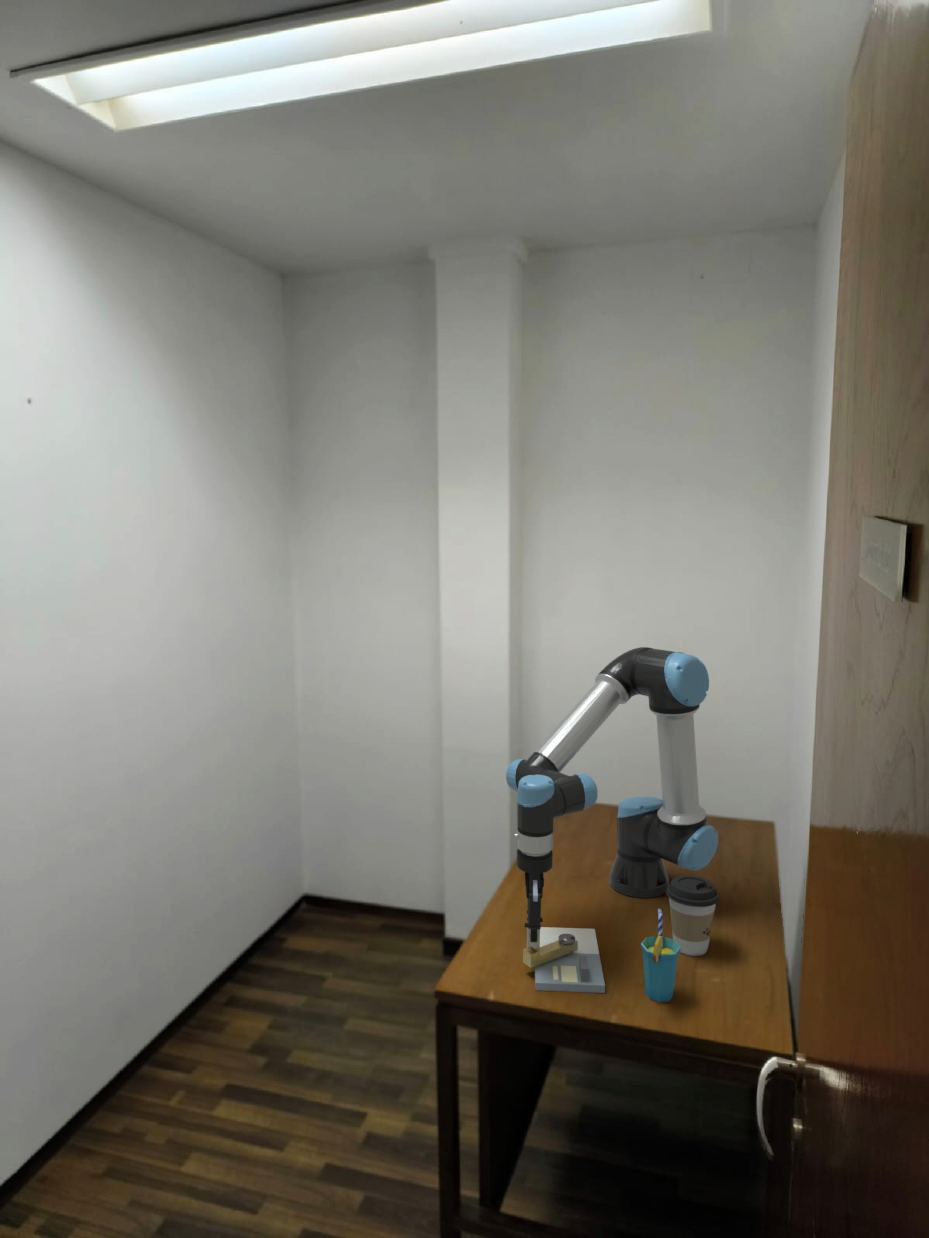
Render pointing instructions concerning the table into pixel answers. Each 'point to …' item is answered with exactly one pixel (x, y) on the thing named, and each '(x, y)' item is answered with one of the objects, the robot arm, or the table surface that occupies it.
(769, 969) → the table surface
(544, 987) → the door fixture
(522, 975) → the table surface
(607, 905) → the table surface
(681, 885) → the coffee cup
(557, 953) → the latch bar
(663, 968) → the cup
